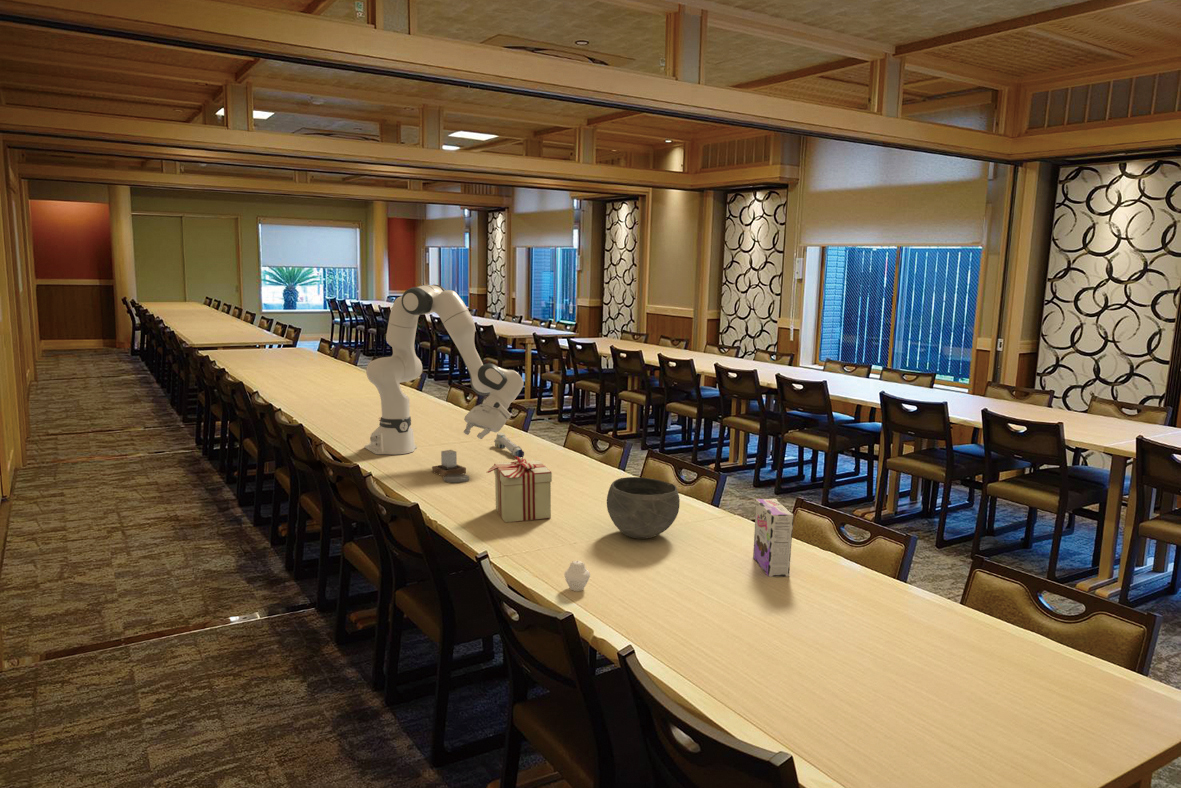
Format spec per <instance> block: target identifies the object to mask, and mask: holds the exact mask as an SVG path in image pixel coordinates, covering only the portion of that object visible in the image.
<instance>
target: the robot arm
mask: <svg viewBox="0 0 1181 788" xmlns="http://www.w3.org/2000/svg"><path fill="white" fill-rule="evenodd" d="M392 304H393V305H392V307H391V309H390V314H389V318H388V324H387V328H386V329H387V330H386V334H385V335H386V336H385V341H386V343H387V344H388V345H389V346H390V347H392V348H391V349H392V355H391V356H383V357H379V358H375V359H373V360H371V361H370V362H369V363H368V364H367V367H366V370H365V371H366V374H365V375H366V376H367V380H368V381H369V382H370V383H371V384H372V385H373V386H374V387H376V390H377V391H378V393H379V396H380V404H381V405H380V406H381V417H380V418H379V419H378V421H379V425H378V426H377V428H376V429H375V430H374V431H373V432H371V434H370V437H369V439H370V441H369V442H370V443H368V444H367V443H366V444H364V448H365V449H366V450H368V451H370V452H371V453H373V454H375V455H405V454H409V453H412V452H414V451H415V450H416V449H417V448H418V447H417V445H416V444H415V438H414V437H415V436H414V429H413V428H412V427H411V425H412V418H411V414H410V411H411V410H410V407H411V405H410V398H409V396H408V395H407V394H406V393H404V392H403V390H402V389H401V385H400V383H407V382H411V381H413V380H415V379H418V378H419V377H420V376H421V375H422V373H423V364H422V361H421V359H420V358H419V357H418V356H417V354H416V350H415V343H416V342H415V340H416V335H417V334H416V333H417V328H418V321H419V317H420V316H422V315H430V314H433V313H435V314H436V315H438V317H439V319H440V320H441V323H442V324H443V326H444V328H445V330H446V331H447V333H448V334H449V336H450V338H451V340H452V342H453V343H454V344H455V346H456V348H457V350H458V352H459V354H460V357H461V359H462V360H463V363H464V365H465V367H466V369H467V371H468V374H469V377H470V378H469V379H470V386H471V389H472V390H473V391H474V392H475V393H476V394H477V395H479V396H485V397H486V396H487V397H486V398H485V399H484V401H483V402H482V403H481V404H478V405H474V407H472V408H471V409H470V410H469V411H468V412H467V413H466V415H465V416H464V417H463V418H464V419H463V420H464V421H465V423H466V425H465V428H464V430H463V434H464V435H467V436H468V435H469V434H471V429H472V428H474V427H476V428H478V429H482V431H481V432H479V433H478V434H477V435H476V437H477V438H478V440H483V439H484V438H485V437H486V436H487V435H489V434H490V433H491V432H492V433H499V432H500V430H501V429H502V428H503V427H504V426H505V424H506V423H507V421H508V420H509V419H510V418H511V417H512V414H511V413H510V412H509V410H508V409H509V407H510V405H511V403H512V402H514V401H515V399H516V398H517V397H518V396H519V394H520V393H521V391H522V389H523V388H524V383H525V382H524V380H523V377H522V375H521V374H520V373H519V372H517V371H516V370H514V369H506V368H503V367H499V366H498V365H496V364H494V363H490V362H489V363H483V361H482V359H481V357H480V354H479V353H478V351H477V349H476V348H477V347H476V344H475V333H476V325H475V321H474V318H473V316H472V314H471V312H470V311H469V310H470V309H469V308H468V307H467V305H466V304H465V302H464V301H463V299H462V298H461V296H460V295H458V293H457V292H456V291H454V290H452V289H447V290H446V288H444V287H443V286H441V285H438V284H423V285H419V286H417V287H416V286H414V287H410V288H408V289H407V290H405V291H404V292H403V294H402V295H401V296H399V297H396V299H395V300H394V301H393V303H392Z"/></svg>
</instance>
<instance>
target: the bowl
mask: <svg viewBox="0 0 1181 788" xmlns="http://www.w3.org/2000/svg"><path fill="white" fill-rule="evenodd" d="M609 486H610V487H609V489H608V492H607V496H606V509H607V513H608V515H609V517H610V519H611V521H612V523H613V524H614V526H615V527H616V528H617V529H618V530H619V532H620V533H622V534H623V535H625V536H626V537H629V538H632V539H640V540H641V539H651V538H653V537H657V536H658V535H660V534H662V533H664V532H665V531H667V530H668V529H669V528H670V526H672V524H673V523H674V522H675V520H676V519H677V517H678V515H679V511H680V495H679V490H678V488H677V485H675V484H673V483H670V482H668V481H664V480H662V479H661V480H660V479H656V478H648V477H640V476H628V477H621V478H617V479H616V480H614V481H613V482H612V483H611V484H610V485H609Z"/></svg>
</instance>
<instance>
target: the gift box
mask: <svg viewBox="0 0 1181 788" xmlns="http://www.w3.org/2000/svg"><path fill="white" fill-rule="evenodd" d="M513 459H514V460H515V459H516V460H517V461H511V462H510V461H509V462H501V463H500V462H499V463H494V464H493V465H492V466H491V467H490V468H489V469H488V470H487V471H486V473H487V474H488V473H491V472H493V474H494V477H495V478H494V479H495V480H494V482H495V483H494V484H495V485H494V487H495V511H497V513H498V515H499V516H500V517H501V519H502V520H503V523H514V522H526V521H534V520H535V521H536V520H537V521H538V520H544V519H546V520H547V519H551V517H552V515H551V514H552V509H551V508H552V507H551V506H552V505H551V503H552V502H551V499H552V498H551V496H552V495H551V491H552V490H551V489H552V488H551V486H552V485H551V484H552V483H551V482H552V481H553V480H552V479H553V478H552V476H553V475H552V474H553V473H552V471H551V470H550V469H549V468H548V467H547V466H546V465H545V464H544V463H542V461H540V460H539V459H538V460H527V459H526V458H523V457H522V458H520V457H517V456H513Z"/></svg>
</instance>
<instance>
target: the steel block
mask: <svg viewBox="0 0 1181 788" xmlns="http://www.w3.org/2000/svg"><path fill="white" fill-rule="evenodd" d="M440 452H441V453H440V454H441V458H440V460H441V464H440V465H441V469H443V470H452V469H457V465H458V464H457V460H458V459H457V451H456V450H453V449H446V450H441V451H440Z"/></svg>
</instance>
